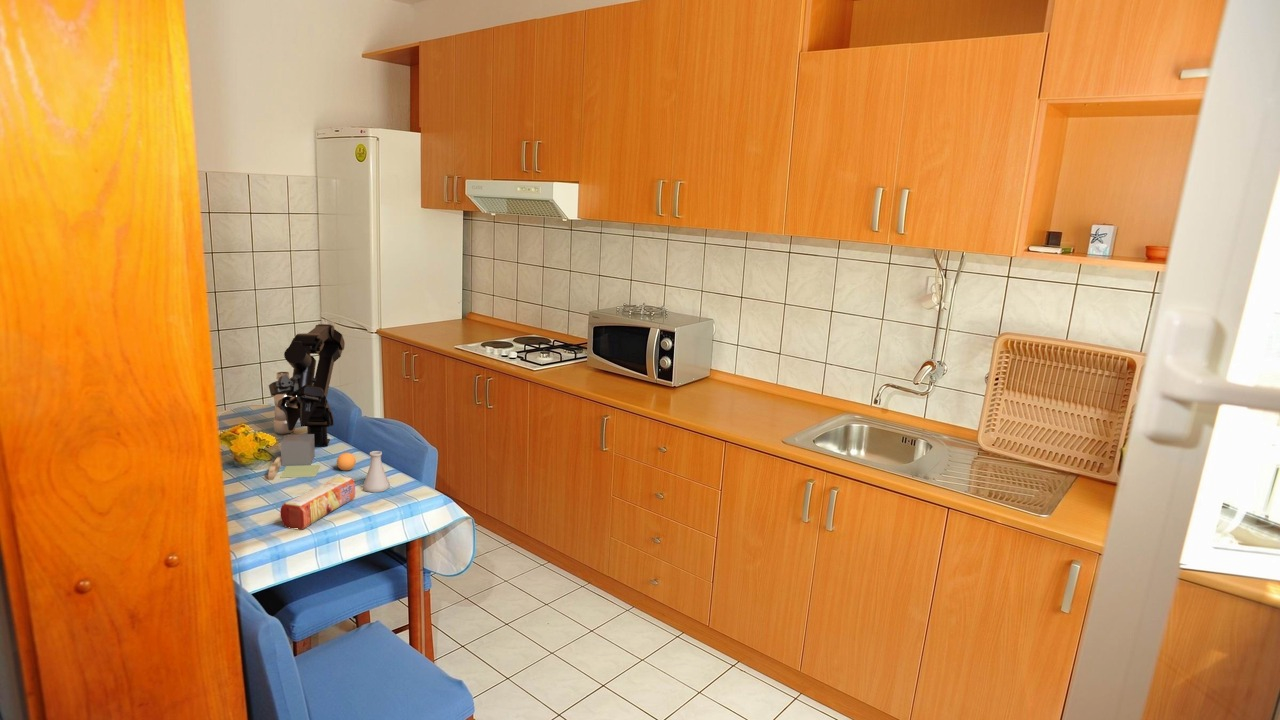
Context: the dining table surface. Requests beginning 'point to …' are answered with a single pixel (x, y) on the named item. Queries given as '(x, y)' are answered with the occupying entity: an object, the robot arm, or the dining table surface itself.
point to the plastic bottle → (280, 411)
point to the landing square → (300, 471)
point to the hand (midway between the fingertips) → (296, 427)
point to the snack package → (317, 502)
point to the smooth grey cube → (297, 449)
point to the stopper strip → (274, 468)
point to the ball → (346, 461)
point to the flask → (376, 475)
